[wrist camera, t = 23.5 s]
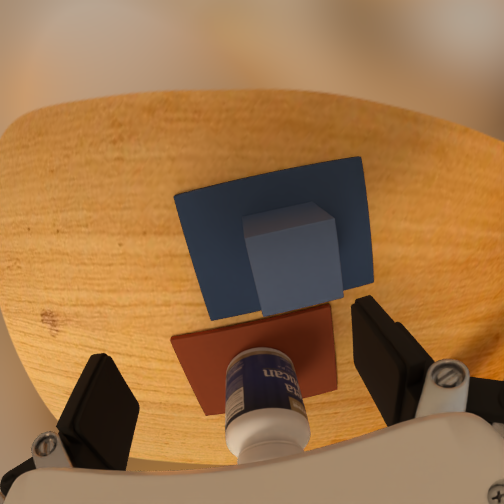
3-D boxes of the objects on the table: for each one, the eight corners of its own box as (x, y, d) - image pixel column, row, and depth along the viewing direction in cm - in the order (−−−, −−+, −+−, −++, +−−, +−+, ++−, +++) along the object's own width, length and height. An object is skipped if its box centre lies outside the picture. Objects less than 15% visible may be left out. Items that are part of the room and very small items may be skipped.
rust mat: (206, 412, 25) (205, 415, 25) (170, 336, 22) (169, 340, 22) (336, 386, 25) (337, 389, 24) (328, 303, 22) (330, 306, 21)
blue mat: (211, 317, 22) (211, 321, 21) (174, 195, 19) (173, 196, 18) (371, 279, 22) (374, 282, 21) (358, 156, 18) (361, 156, 18)
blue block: (257, 281, 20) (263, 317, 16) (241, 216, 19) (244, 238, 15) (322, 266, 20) (344, 297, 16) (312, 201, 19) (335, 217, 15)
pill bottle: (306, 357, 23) (339, 458, 14) (272, 400, 24) (288, 496, 15) (244, 334, 22) (253, 445, 13) (214, 382, 23) (211, 485, 14)
